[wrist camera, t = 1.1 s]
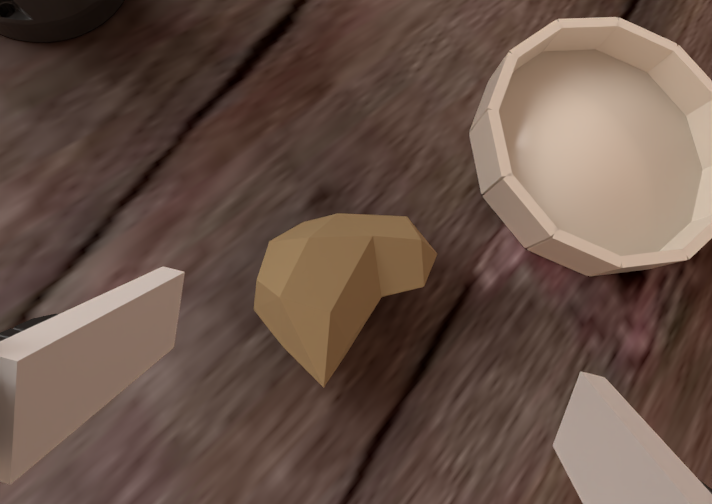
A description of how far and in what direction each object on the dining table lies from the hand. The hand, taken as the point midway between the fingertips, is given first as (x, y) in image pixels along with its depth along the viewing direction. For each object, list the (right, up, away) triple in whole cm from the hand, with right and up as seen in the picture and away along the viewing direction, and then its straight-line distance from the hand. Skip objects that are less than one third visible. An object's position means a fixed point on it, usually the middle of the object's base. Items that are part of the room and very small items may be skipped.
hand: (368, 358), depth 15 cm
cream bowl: (+23, +13, +30) cm, 40 cm away
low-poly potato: (-2, 0, +24) cm, 24 cm away
